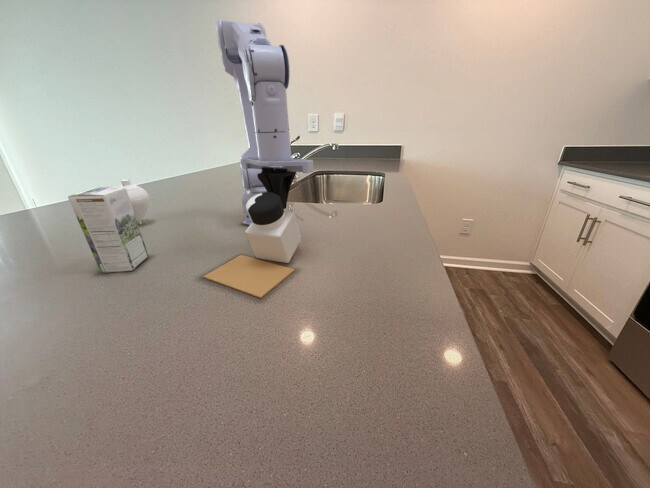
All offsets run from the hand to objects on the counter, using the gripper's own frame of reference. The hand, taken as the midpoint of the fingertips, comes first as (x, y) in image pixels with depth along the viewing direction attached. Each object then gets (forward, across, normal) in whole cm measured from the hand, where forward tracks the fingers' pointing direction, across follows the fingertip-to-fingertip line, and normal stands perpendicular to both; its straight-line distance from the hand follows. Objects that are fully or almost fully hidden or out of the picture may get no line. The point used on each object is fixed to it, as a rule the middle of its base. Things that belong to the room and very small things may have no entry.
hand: (280, 209), depth 50 cm
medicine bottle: (+8, 0, -1) cm, 8 cm away
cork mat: (+9, 0, -10) cm, 14 cm away
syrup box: (+9, -24, -18) cm, 32 cm away
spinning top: (+9, -45, -4) cm, 46 cm away
